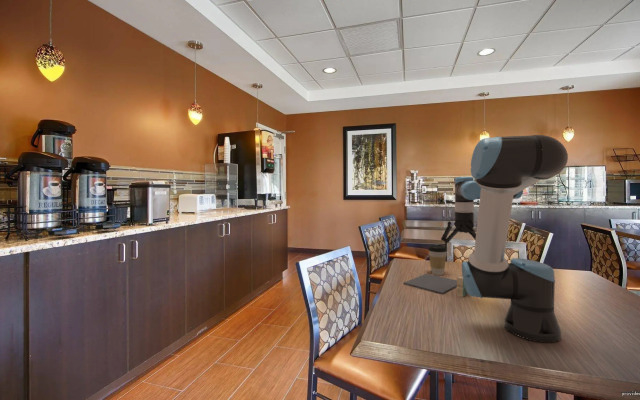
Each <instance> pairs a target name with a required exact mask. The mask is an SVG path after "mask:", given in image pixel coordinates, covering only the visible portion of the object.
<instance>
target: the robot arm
mask: <svg viewBox="0 0 640 400" xmlns="http://www.w3.org/2000/svg"><path fill="white" fill-rule="evenodd" d="M567 151H568V150H567V149H566V147H565V146H564V144H563V143H562V142H561V141H559V140H558V139H556V138H554V137H551V136H549V135H544V134H532V135H531V134H530V135H510V136H508V135H507V136H495V137H493V136H492V137H485V138H482V139H481V140H479V141H478V142H477V143H476V145H475V147H474V149H473V152H472V155H471V160H470V174H471V176H458V177H455V180H454V211H455V212H454V221H452V220H450V221H448V222H447V226H446V228H445V230H444V232H443V234H442V236H441V237H440V240H441V241H442V242H444V246H445V249H447V252H446V258H449V257H451V256H452V242H451V240H452V239H453V238H454V237H455V236H456V235H457V234H458V233H465V234H467V233H468V234H469V235H470V236H471V237H472V238H473V239H474V240H475V241H474V251H473V252H472V253H470V254H469V256H468V258H467V259H468V260H465V261H462V262H461V275H463V281H464V285H465V289H466V291H467V293H468V294H467V295H469V296H470V297H472V298H473V297H474V298H480V299H483V298H484V299H485V298H486V299H499V300H501V299H502V300H510V306H509V308H508V309H507V312H506V315H505V317H504V328H505V327H506V328H505V330H507V331H508V330H509V331H510V332H509V331H508V332H509V333H511V332H512V333H514V334H516V335H519V336H521V337H524V338H528V339H531V340H530V341H532V340H535V341H534V342H537V341H542V342H541V343H546V342H551V343H555V342H554V341H557V342H559V341H560V340H561V339H562V330H561V327H560V324H559V321H558V319H557V316H556V314H555V289H556V288H555V284H556V277H555V270H554V268H553V267H551V266H550V265H549V264H546V263H544V262H540V261H536V260H531V259H526V258H521V257H520V258H518V257H517V258H514V257H513V258H511V260H510V263H509V262H508V259H506V258H505V254H506V247H507V240H508V235H509V228H510V227H509V226H510V221H511V213H512V206H513V202H514V201H513V200H518V199H520V198H522V196H523V194H524V190H525V189H527V188H529V187H530V186H531V187H532V186H533V185H534V184H536V183H538V182H540V181H546V180H549V179H551V178H553V177H555V176H557V175H558V174H560V173H561V172H562V171H563V170H564V169H565V168H566V167H567V163H568V160H569V156H568V155H569V154H568V152H567ZM475 200H479V203H478V213H477V214H478V215H477V222H476V223H474V217H475V216H474V215H475V214H474V212H473V211H474V209H475V208H474V202H475ZM453 227H455V229H453V231H452V228H453ZM474 228H475V229H476V231H475V229H474ZM451 231H452V232H451ZM512 333H511V334H512ZM514 334H513V335H514ZM516 335H515V336H516ZM519 336H518V337H519ZM521 337H520V338H521ZM524 338H523V339H524ZM560 338H561V339H560ZM528 339H527V340H528ZM559 339H560V340H559ZM558 340H559V341H558Z"/></svg>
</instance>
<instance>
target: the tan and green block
mask: <svg viewBox="0 0 640 400" xmlns="http://www.w3.org/2000/svg"><path fill="white" fill-rule="evenodd" d="M456 280H457V287H456V296H458V297H462V298H463V297H465V296H467V295H469V294H468V293H467V291H466V289H465V285H464V281H463V275H462V274H461V275H459V276H457V277H456Z"/></svg>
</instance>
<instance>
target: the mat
mask: <svg viewBox="0 0 640 400" xmlns="http://www.w3.org/2000/svg"><path fill="white" fill-rule="evenodd" d="M403 285H405V286H409V287H413V288H417V289H421V290H424V291H429V292H432V293H436V294H440V295H444V294H447V293H449V292H451V291H452V290H453V289H457V279H452V278H447V277H444V276H443V277H442V276H440V275H434V274H431V273H429V274H428V273H424V274H422V275H419V276H417V277H414V278H412V279H409V280H407V281H403Z"/></svg>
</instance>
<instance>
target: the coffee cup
mask: <svg viewBox="0 0 640 400" xmlns="http://www.w3.org/2000/svg"><path fill="white" fill-rule="evenodd" d="M427 249H428V253H429V255H428V258H429V265H430V269H431V275H435V276H443V275H444V274H445V268H446V260H447V249H445V245H438V244H437V245H436V244H435V245H429V246H428V248H427Z"/></svg>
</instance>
